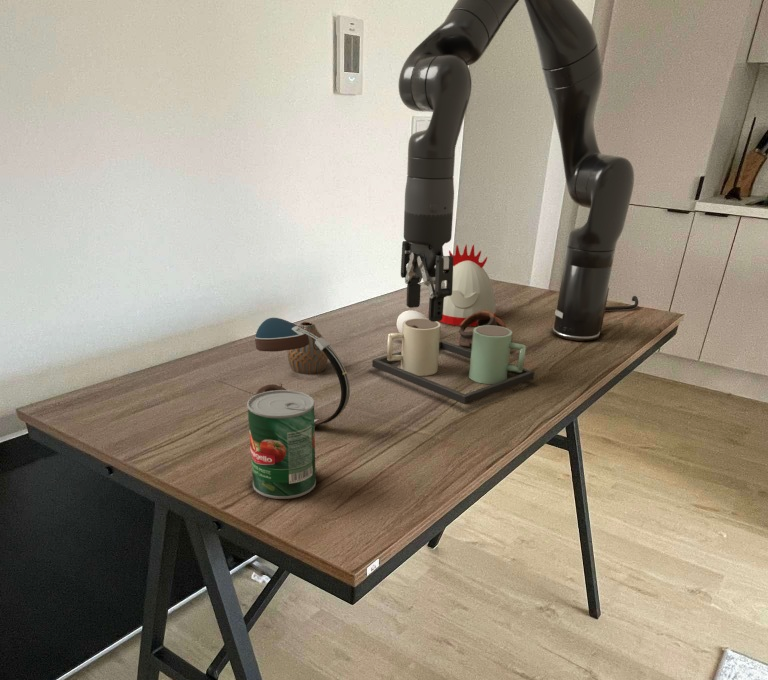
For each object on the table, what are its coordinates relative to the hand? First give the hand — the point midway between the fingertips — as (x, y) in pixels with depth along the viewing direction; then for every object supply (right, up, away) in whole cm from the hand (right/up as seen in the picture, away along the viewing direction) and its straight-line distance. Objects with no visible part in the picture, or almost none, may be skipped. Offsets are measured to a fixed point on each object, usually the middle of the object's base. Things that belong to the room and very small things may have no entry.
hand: (423, 313), depth 117 cm
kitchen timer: (+11, +10, +38) cm, 40 cm away
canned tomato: (-19, -30, -28) cm, 45 cm away
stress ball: (0, +1, +23) cm, 23 cm away
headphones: (-22, -19, -12) cm, 32 cm away
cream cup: (-2, -8, +5) cm, 10 cm away
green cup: (+12, -10, +2) cm, 16 cm away
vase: (-20, -9, +5) cm, 22 cm away
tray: (+5, -10, +5) cm, 12 cm away
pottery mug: (+13, -1, +19) cm, 23 cm away
